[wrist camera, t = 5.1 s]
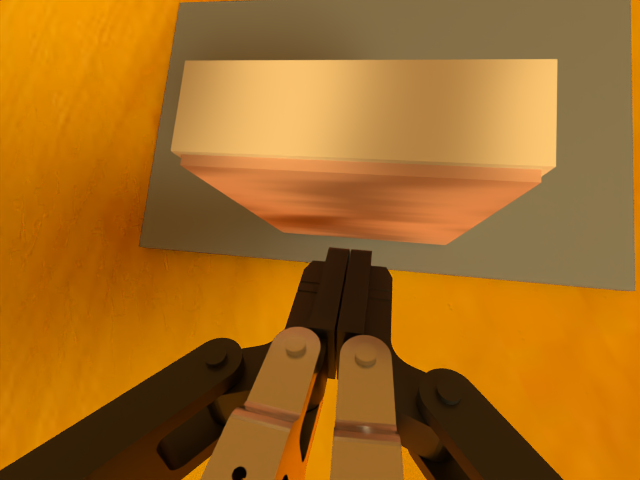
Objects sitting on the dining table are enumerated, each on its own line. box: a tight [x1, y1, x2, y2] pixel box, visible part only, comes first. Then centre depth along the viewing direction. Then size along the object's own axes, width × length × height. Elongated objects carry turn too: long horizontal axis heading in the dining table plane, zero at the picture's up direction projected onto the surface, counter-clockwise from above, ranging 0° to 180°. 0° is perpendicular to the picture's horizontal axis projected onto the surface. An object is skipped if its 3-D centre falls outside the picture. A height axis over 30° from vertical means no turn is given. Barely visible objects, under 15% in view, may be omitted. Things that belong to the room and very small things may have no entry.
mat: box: [139, 0, 635, 291], centre depth 20 cm, size 26×16×1 cm, turn 84°
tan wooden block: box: [171, 59, 557, 245], centre depth 14 cm, size 9×3×11 cm, turn 84°
